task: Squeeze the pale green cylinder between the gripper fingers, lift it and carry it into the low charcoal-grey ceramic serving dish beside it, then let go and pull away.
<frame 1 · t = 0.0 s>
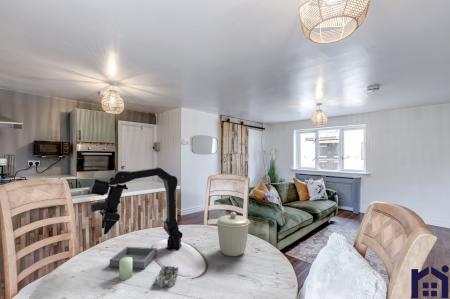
hand: (103, 231, 100), 15 cm above the table, tool pointing down, fingers open, 9 cm apart
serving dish: (134, 261, 104), on the table
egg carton: (167, 280, 89), on the table
pale green cylinder: (125, 276, 91), on the table
canister: (232, 252, 116), on the table
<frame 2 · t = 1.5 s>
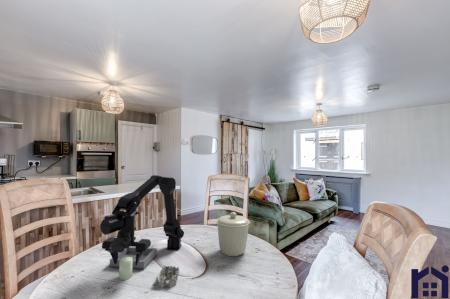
hand: (126, 264, 91), 5 cm above the table, tool pointing down, fingers open, 9 cm apart
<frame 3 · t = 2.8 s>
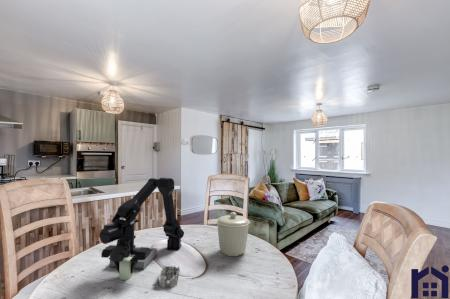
hand: (125, 272, 91), 2 cm above the table, tool pointing down, fingers closed on pale green cylinder, 5 cm apart
pale green cylinder: (125, 276, 91), on the table, touching gripper
everything else where it was.
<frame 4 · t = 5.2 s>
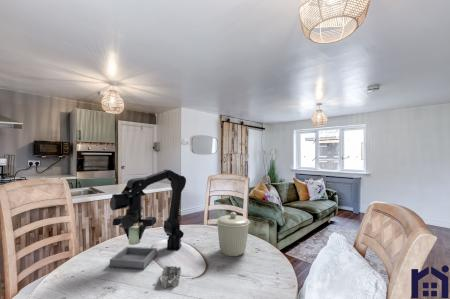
hand: (134, 239, 102), 11 cm above the table, tool pointing down, fingers closed on pale green cylinder, 5 cm apart
pale green cylinder: (134, 242, 102), point 10 cm above the table, touching gripper
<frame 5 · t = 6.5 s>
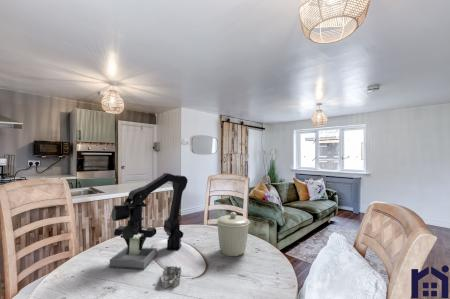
hand: (135, 249, 104), 5 cm above the table, tool pointing down, fingers closed on pale green cylinder, 5 cm apart
pale green cylinder: (134, 252, 104), point 4 cm above the table, touching gripper
when the fingers open (3 cm above the table, at t = 7.7 s): pale green cylinder drops 1 cm, resting on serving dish.
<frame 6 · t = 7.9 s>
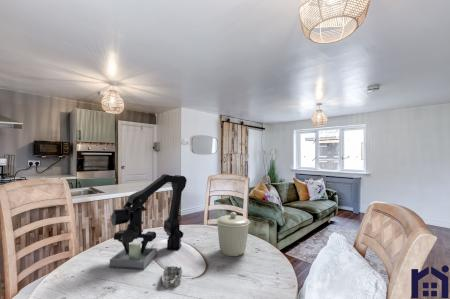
hand: (134, 253, 104), 3 cm above the table, tool pointing down, fingers open, 7 cm apart
pale green cylinder: (134, 259, 104), point 1 cm above the table, touching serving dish
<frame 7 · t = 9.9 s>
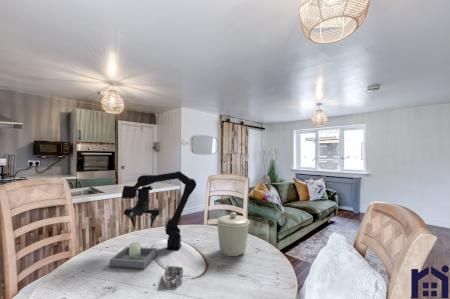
hand: (142, 227, 117), 12 cm above the table, tool pointing down, fingers open, 9 cm apart
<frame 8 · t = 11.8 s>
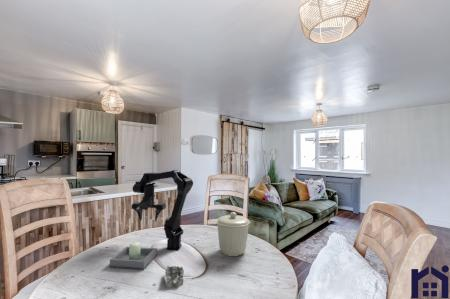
hand: (148, 220, 128), 12 cm above the table, tool pointing down, fingers open, 9 cm apart
at the end: pale green cylinder inside the target area on the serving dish (0.0 cm from its centre), point 0.8 cm above the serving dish's base; pale green cylinder tilted 0°; the gripper is holding nothing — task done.
